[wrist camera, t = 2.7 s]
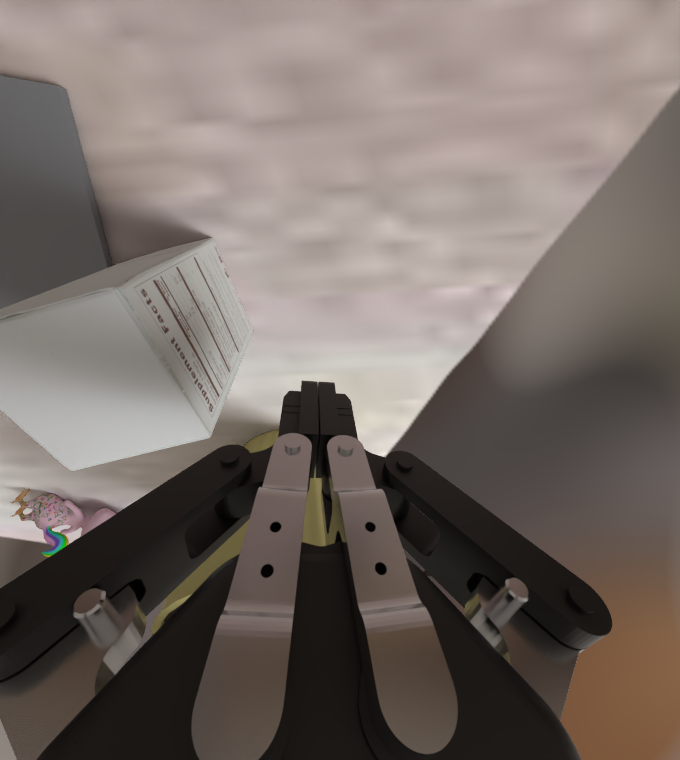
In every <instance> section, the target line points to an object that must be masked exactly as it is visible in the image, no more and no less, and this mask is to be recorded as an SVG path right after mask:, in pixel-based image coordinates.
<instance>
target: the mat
mask: <svg viewBox="0 0 680 760" xmlns="http://www.w3.org/2000/svg"><path fill="white" fill-rule="evenodd" d="M111 266H113V265H112V262H111V258H110V254H109V250H108V246H107V243H106V239H105V235H104V231H103V228H102V224H101V220H100V216H99V212H98V209H97V205H96V201H95V197H94V193H93V190H92V186H91V182H90V178H89V174H88V171H87V167H86V163H85V159H84V155H83V152H82V148H81V144H80V140H79V137H78V133H77V129H76V125H75V121H74V118H73V114H72V110H71V106H70V102H69V99H68V95H67V91H66V89H65V88H62V87H60V86H57V85H51V84H45V83H40V82H34V81H28V80H23V79H17V78H11V77H5V76H0V309H2V308H5V307H7V306H10V305H13V304H15V303H18V302H20V301H23V300H26V299H28V298H31V297H33V296H36V295H39V294H41V293H44V292H46V291H49V290H52V289H54V288H57V287H60V286H62V285H65V284H67V283H70V282H72V281H75V280H78V279H80V278H83V277H86V276H88V275H91V274H93V273H96V272H98V271H101V270H103V269H106V268H109V267H111Z"/></svg>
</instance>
